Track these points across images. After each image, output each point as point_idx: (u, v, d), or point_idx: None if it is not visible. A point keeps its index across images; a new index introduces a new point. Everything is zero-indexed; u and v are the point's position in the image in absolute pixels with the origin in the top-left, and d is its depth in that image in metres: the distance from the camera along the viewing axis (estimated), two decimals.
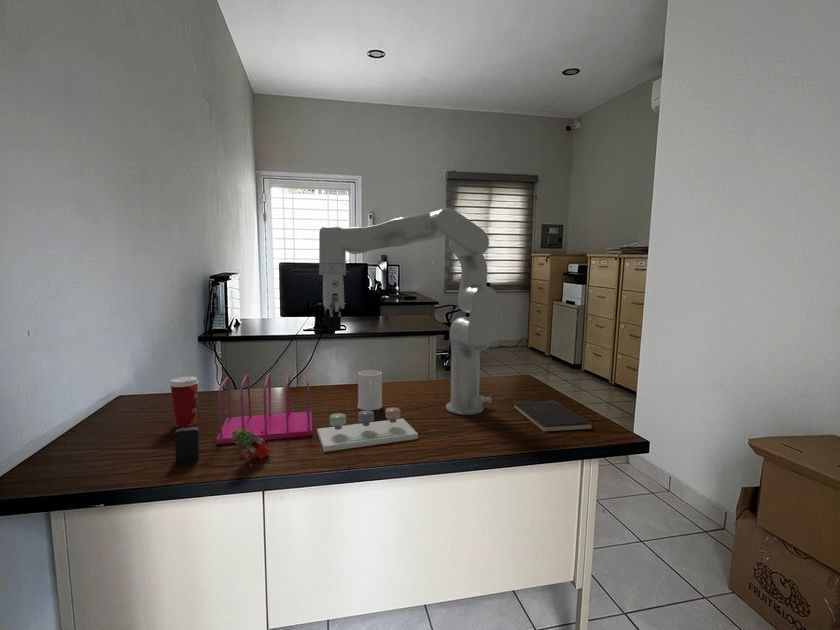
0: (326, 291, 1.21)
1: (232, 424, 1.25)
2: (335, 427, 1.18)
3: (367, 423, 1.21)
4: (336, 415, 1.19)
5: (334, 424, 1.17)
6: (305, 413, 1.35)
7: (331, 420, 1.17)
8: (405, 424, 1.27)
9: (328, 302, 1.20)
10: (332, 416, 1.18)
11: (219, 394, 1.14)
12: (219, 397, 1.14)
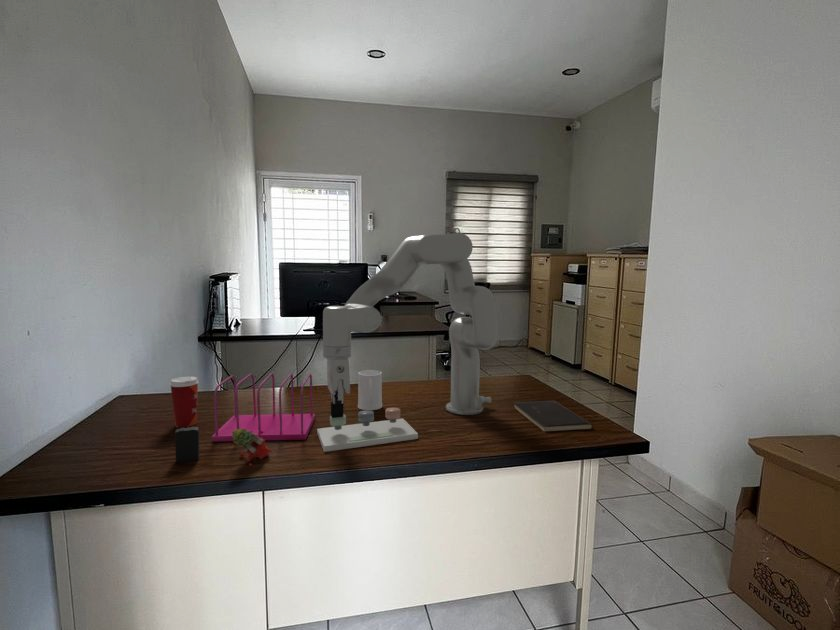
0: (331, 376, 1.13)
1: (234, 422, 1.27)
2: (335, 427, 1.18)
3: (367, 423, 1.21)
4: None
5: (334, 424, 1.17)
6: (308, 415, 1.33)
7: (331, 420, 1.17)
8: (405, 424, 1.27)
9: (333, 389, 1.13)
10: None
11: (215, 392, 1.16)
12: (215, 395, 1.16)
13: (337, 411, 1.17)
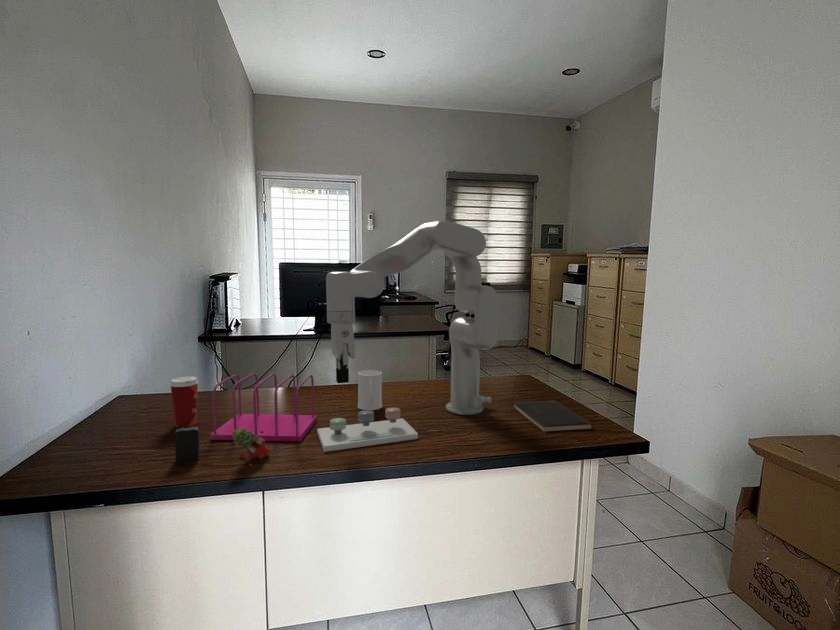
0: (335, 341, 1.14)
1: (236, 421, 1.28)
2: (335, 432, 1.18)
3: (367, 423, 1.21)
4: (336, 420, 1.19)
5: (334, 429, 1.17)
6: (309, 417, 1.32)
7: (331, 425, 1.17)
8: (405, 424, 1.27)
9: (338, 353, 1.13)
10: (332, 421, 1.18)
11: (213, 391, 1.17)
12: (213, 394, 1.17)
13: (342, 376, 1.18)
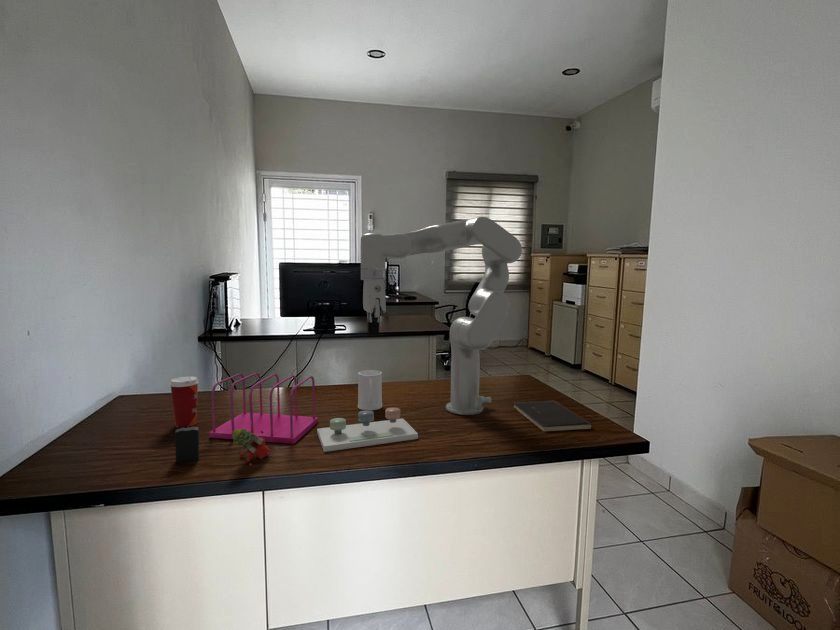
0: (369, 296, 1.26)
1: (238, 419, 1.29)
2: (335, 432, 1.18)
3: (367, 423, 1.21)
4: (336, 420, 1.19)
5: (334, 429, 1.17)
6: (310, 418, 1.31)
7: (331, 425, 1.17)
8: (405, 424, 1.27)
9: (371, 306, 1.25)
10: (332, 421, 1.18)
11: (213, 389, 1.18)
12: (212, 392, 1.18)
13: (373, 329, 1.30)
